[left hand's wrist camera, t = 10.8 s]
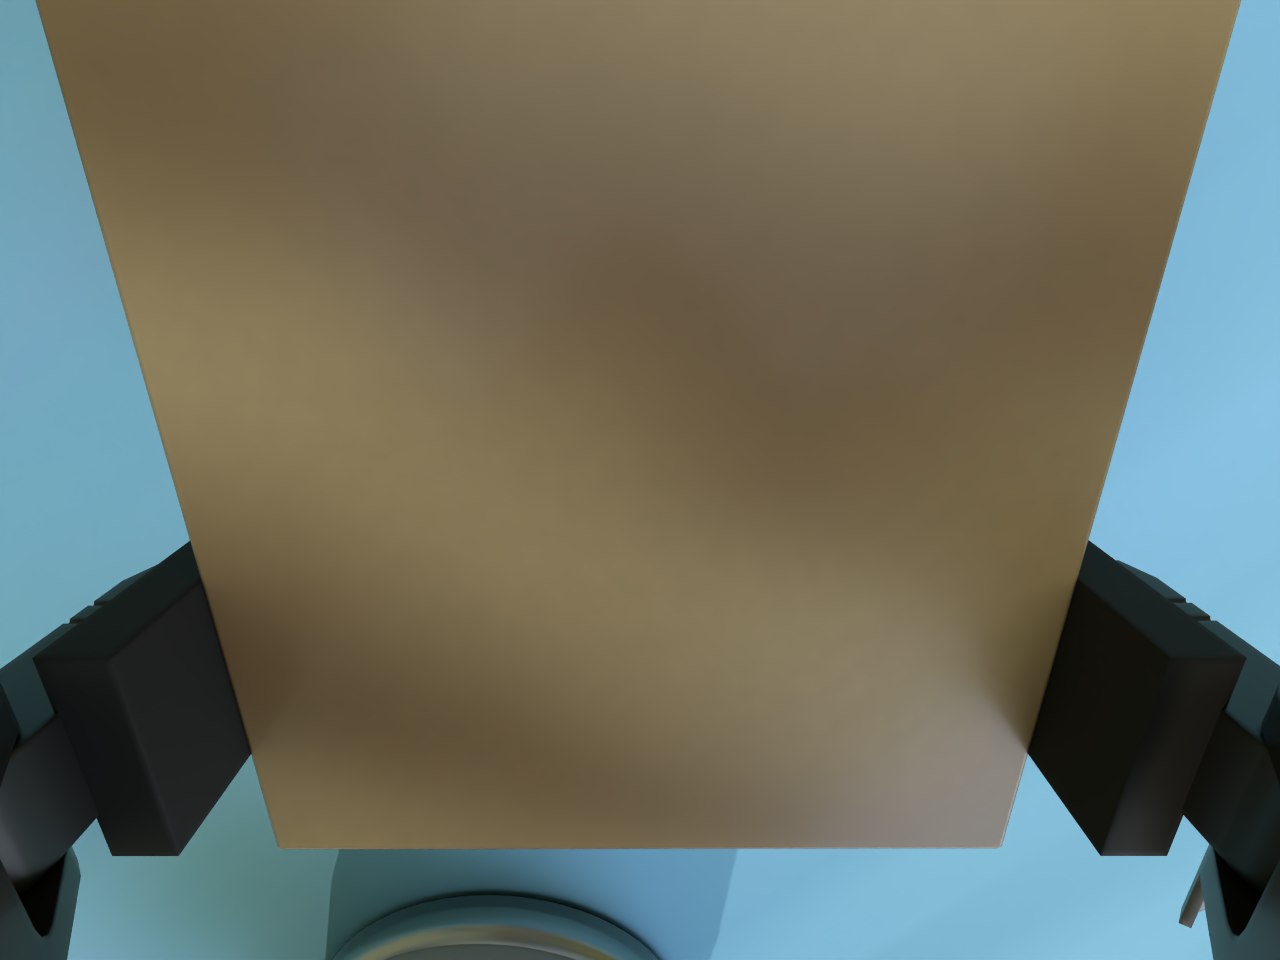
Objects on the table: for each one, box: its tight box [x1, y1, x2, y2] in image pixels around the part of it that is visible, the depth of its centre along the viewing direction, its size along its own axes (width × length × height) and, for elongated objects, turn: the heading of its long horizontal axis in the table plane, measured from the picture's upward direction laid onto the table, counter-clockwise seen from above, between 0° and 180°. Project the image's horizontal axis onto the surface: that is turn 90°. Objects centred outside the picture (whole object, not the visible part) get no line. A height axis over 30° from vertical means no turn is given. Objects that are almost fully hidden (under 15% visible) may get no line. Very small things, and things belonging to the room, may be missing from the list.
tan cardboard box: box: [36, 0, 1241, 849], centre depth 12 cm, size 18×10×11 cm, turn 0°
